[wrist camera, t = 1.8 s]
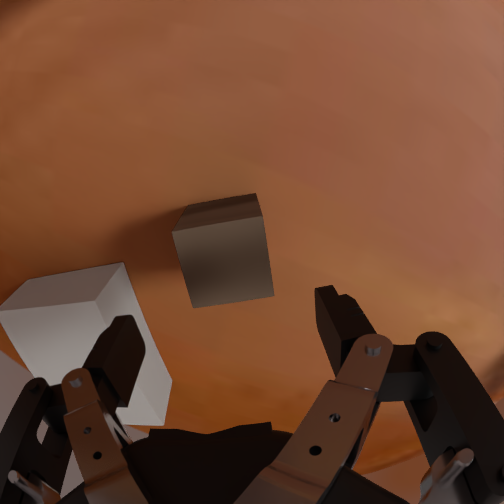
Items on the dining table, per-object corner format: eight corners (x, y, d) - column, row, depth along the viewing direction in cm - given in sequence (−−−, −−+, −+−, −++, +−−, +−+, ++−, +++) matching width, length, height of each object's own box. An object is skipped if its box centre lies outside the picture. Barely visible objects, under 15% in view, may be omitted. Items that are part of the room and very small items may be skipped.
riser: (27, 279, 23) (-6, 311, 17) (123, 262, 23) (94, 300, 17) (82, 381, 28) (66, 418, 23) (172, 380, 28) (163, 425, 23)
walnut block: (188, 205, 21) (171, 231, 16) (255, 193, 21) (262, 215, 16) (202, 265, 23) (193, 308, 18) (265, 255, 23) (274, 296, 18)
